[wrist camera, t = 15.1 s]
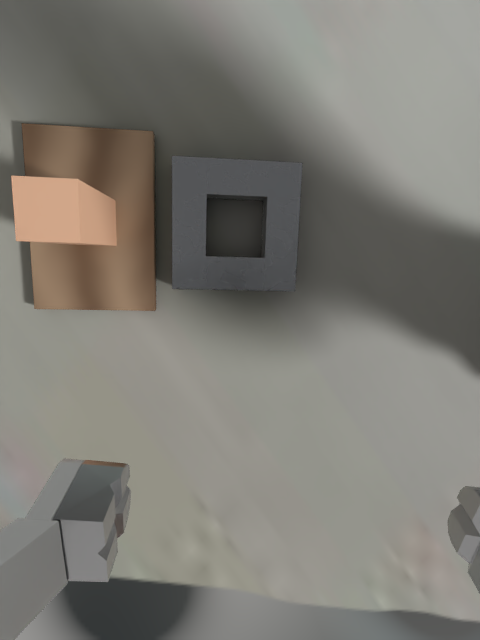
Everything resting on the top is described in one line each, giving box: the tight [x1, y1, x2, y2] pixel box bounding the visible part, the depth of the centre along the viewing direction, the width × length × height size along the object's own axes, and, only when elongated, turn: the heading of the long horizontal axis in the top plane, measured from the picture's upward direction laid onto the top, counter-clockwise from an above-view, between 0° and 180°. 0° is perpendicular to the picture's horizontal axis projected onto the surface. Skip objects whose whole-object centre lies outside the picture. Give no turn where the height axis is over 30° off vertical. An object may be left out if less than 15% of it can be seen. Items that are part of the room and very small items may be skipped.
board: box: [22, 123, 156, 311], centre depth 34 cm, size 11×16×1 cm
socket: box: [172, 156, 302, 291], centre depth 34 cm, size 11×11×2 cm
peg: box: [11, 176, 117, 246], centre depth 29 cm, size 4×4×10 cm
